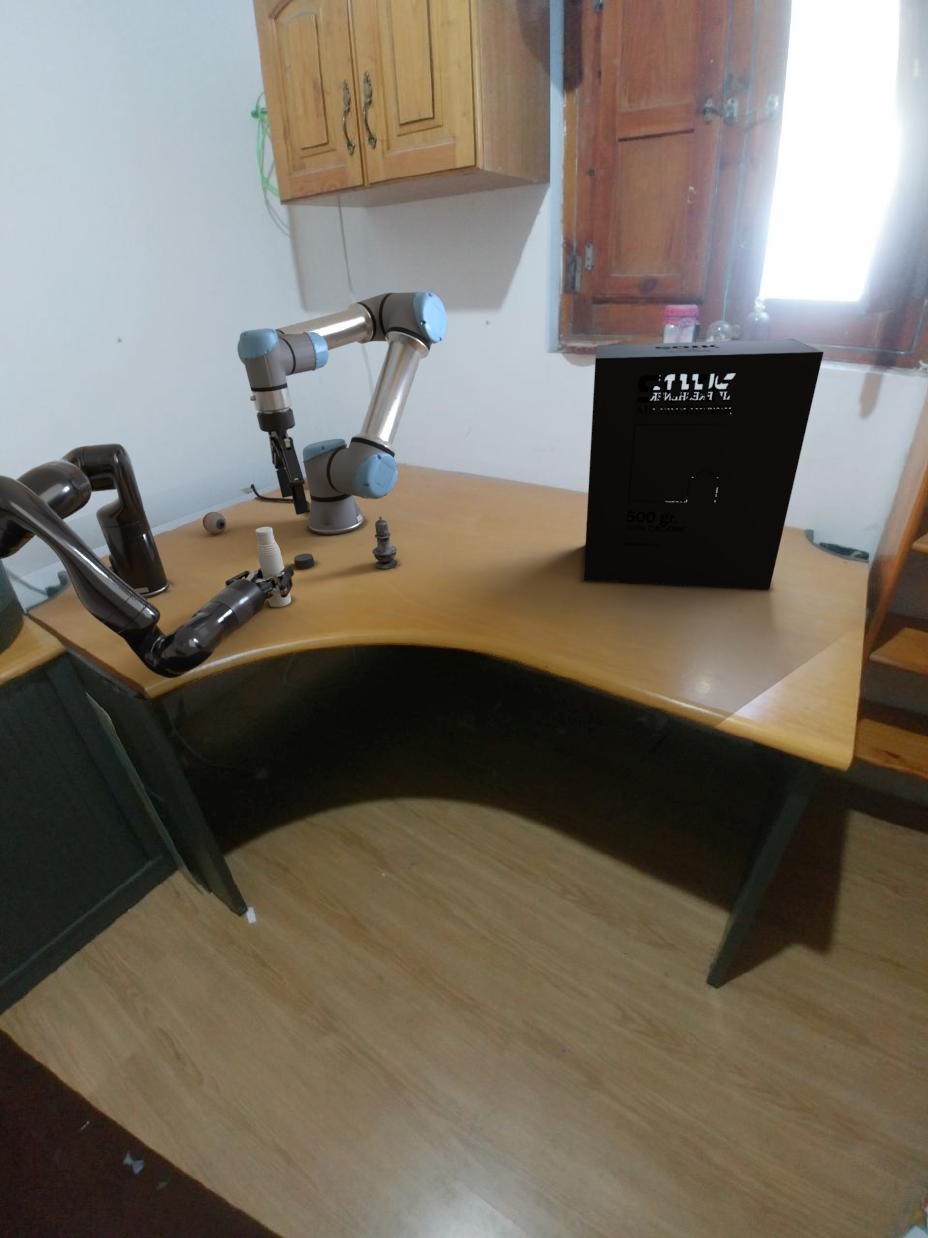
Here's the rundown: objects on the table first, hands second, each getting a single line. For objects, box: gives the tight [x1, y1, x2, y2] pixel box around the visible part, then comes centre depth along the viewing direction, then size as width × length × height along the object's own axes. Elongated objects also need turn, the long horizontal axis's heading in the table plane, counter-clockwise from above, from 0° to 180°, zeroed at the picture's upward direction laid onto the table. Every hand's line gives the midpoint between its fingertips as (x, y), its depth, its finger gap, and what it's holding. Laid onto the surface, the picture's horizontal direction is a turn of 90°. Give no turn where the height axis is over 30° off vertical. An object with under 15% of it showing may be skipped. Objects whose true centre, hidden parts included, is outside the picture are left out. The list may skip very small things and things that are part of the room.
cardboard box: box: [583, 338, 824, 590], centre depth 125 cm, size 38×20×45 cm, turn 78°
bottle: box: [255, 526, 292, 608], centre depth 126 cm, size 5×5×17 cm
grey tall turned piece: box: [371, 516, 398, 570], centre depth 142 cm, size 6×6×12 cm
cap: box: [293, 552, 315, 570], centre depth 146 cm, size 4×5×2 cm
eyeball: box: [202, 511, 227, 535], centre depth 167 cm, size 6×6×6 cm
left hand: (280, 568), depth 129 cm, fingers closed on bottle, 4 cm apart
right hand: (295, 504), depth 139 cm, fingers open, 13 cm apart
